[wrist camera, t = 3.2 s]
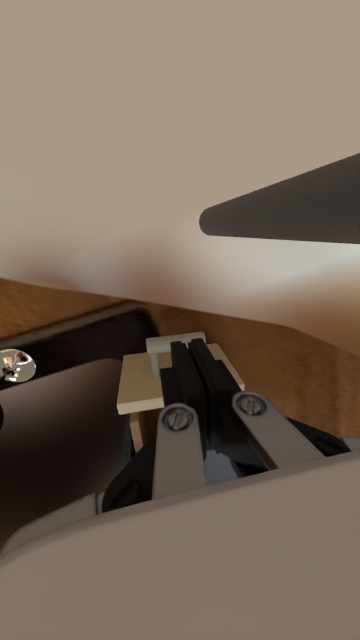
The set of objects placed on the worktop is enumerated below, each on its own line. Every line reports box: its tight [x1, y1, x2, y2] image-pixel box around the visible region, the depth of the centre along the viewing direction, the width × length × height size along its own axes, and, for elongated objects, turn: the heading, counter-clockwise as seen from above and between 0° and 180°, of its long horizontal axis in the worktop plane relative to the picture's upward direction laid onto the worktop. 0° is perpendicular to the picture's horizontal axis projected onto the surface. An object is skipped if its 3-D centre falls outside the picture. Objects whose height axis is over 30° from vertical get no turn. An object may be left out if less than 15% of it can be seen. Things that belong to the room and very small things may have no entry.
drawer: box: [117, 331, 244, 453], centre depth 24 cm, size 18×11×8 cm, turn 3°
